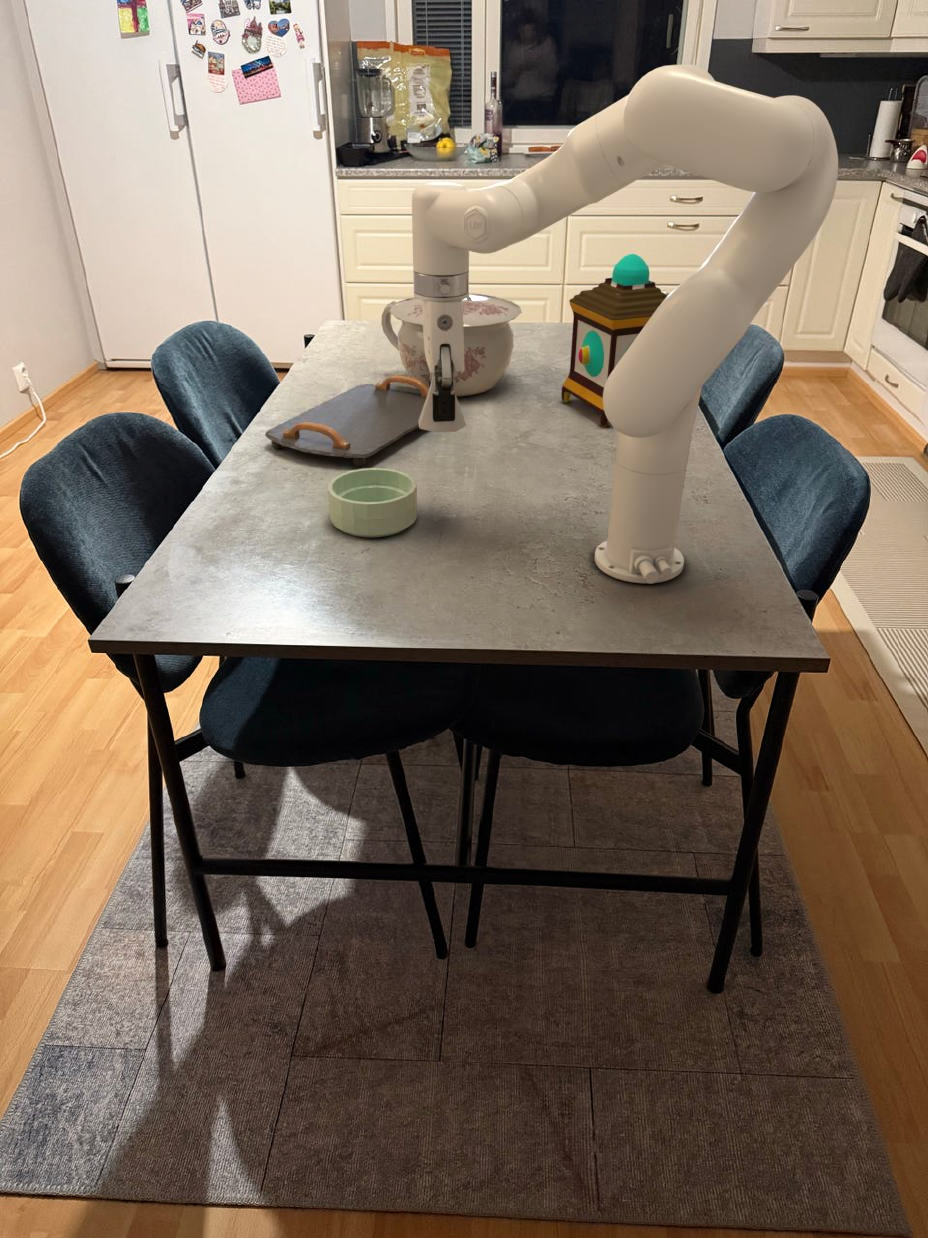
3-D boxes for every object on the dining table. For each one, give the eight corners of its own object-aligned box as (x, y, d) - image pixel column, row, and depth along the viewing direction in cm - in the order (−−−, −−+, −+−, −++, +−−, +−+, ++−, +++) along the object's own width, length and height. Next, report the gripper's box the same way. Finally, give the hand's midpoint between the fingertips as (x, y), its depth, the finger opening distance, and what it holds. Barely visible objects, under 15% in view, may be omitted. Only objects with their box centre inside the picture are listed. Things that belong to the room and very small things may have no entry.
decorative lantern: (551, 400, 190) (560, 247, 174) (632, 388, 196) (648, 241, 180) (600, 431, 174) (615, 267, 158) (686, 418, 181) (708, 259, 165)
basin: (420, 537, 136) (419, 501, 133) (331, 542, 135) (328, 506, 131) (413, 500, 147) (412, 465, 144) (330, 504, 146) (327, 469, 143)
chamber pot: (541, 397, 191) (546, 296, 180) (420, 415, 181) (418, 309, 170) (484, 362, 212) (486, 269, 201) (374, 376, 203) (369, 279, 192)
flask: (460, 436, 129) (461, 366, 124) (412, 431, 131) (410, 363, 125) (471, 418, 135) (471, 352, 130) (424, 415, 137) (423, 348, 131)
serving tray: (369, 392, 193) (367, 363, 190) (464, 410, 184) (465, 380, 181) (253, 452, 164) (249, 419, 161) (359, 477, 155) (357, 443, 152)
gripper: (477, 298, 116) (475, 434, 126) (461, 270, 130) (460, 394, 140) (418, 299, 115) (421, 436, 125) (409, 271, 129) (411, 396, 139)
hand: (441, 412), depth 132 cm, fingers closed on flask, 4 cm apart
